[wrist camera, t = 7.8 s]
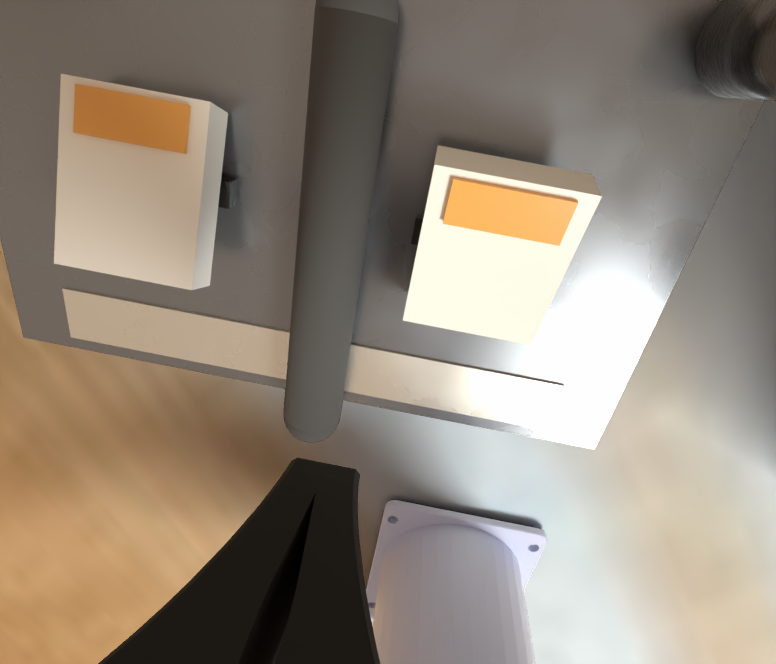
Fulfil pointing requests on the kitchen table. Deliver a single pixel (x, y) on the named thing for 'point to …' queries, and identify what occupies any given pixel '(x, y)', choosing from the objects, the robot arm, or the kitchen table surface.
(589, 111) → the panel
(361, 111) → the dark grey rod
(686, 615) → the kitchen table surface
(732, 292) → the kitchen table surface
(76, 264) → the paddle
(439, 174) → the paddle
